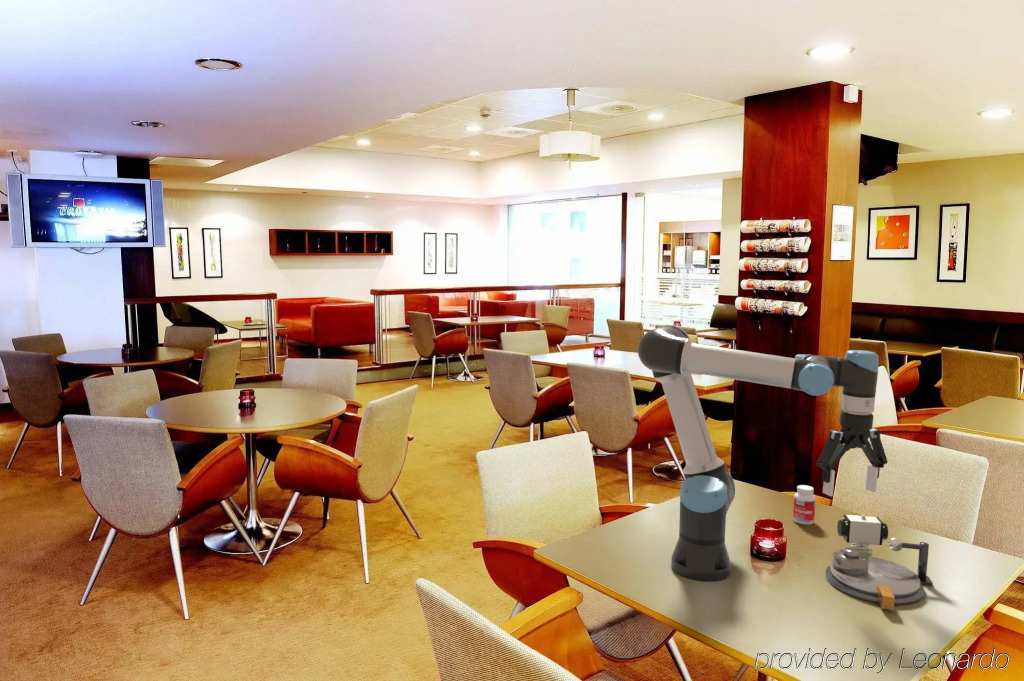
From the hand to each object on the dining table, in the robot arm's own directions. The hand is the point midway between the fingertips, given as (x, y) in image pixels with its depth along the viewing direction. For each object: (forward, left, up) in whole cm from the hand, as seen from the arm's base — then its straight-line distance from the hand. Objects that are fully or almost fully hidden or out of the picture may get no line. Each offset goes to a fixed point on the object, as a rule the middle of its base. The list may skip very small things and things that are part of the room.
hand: (849, 492), depth 177 cm
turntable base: (+6, -4, -22) cm, 23 cm away
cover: (+1, -4, -19) cm, 19 cm away
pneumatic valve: (+6, +13, -22) cm, 26 cm away
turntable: (+6, -7, -21) cm, 23 cm away
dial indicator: (+15, +1, -22) cm, 26 cm away
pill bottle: (-6, +36, -22) cm, 42 cm away
